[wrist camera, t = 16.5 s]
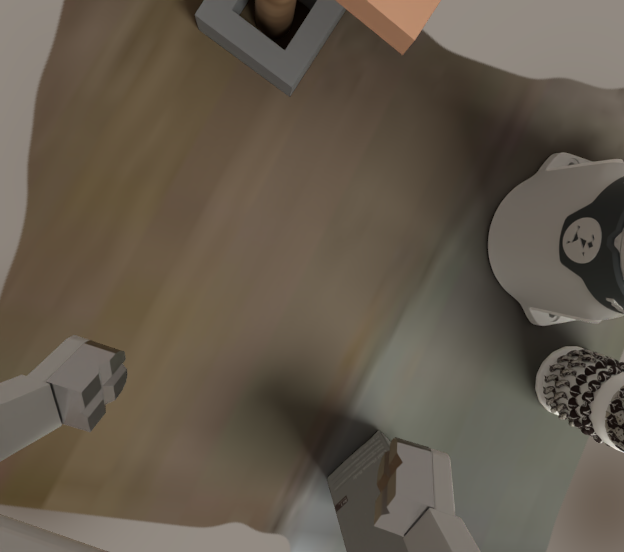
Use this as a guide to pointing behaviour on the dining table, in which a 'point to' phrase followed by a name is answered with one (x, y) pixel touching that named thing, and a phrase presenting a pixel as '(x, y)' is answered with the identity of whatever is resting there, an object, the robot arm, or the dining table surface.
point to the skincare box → (362, 499)
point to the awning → (308, 32)
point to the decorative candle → (585, 392)
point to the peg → (274, 17)
